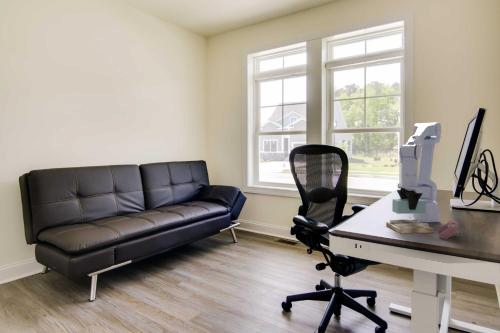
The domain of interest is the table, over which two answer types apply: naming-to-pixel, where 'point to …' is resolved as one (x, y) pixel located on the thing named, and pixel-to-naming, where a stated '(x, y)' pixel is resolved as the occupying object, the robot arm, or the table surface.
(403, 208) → the light blue rectangular block
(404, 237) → the table surface
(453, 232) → the pink knobbed toy
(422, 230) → the display stand
